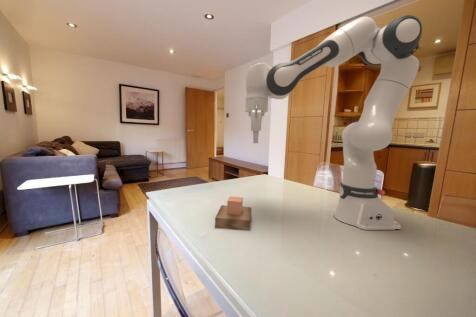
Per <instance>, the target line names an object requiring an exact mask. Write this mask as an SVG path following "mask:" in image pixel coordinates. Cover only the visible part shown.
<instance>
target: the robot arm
mask: <svg viewBox="0 0 476 317" xmlns="http://www.w3.org/2000/svg"><path fill="white" fill-rule="evenodd" d="M422 34H423V24H422V21H421V20H420V19H419V18H418V17H417V16H415V15H411V14H409V15H404V16H400V17H399V16H398V17H397V18H395V19H393V20H391V21H390V22H389V23H388V24H386V25H385V26H383V27H382V28H381V27H379V26H377V23H376V21H375V20H374V19H373V18H372V17H370V16H361V17H358V18H356V19H354V20H351V21H350V22H348V23H346V24H344V25H343V26H341V27H339V28H338V29H337V30H334V31H333V32H332V33H331V34H329V35H328V36H327V37H325V38H324V40H322V41H320V43H319V44H318V45H316V46H315V47H313V48H312V49H310V50H308V51H307V52H304V53H303V54H302V55H300V56H299V57H297V58H295V59H293V60H290V61H288V62H282V63H281V62H280V63H277V64H276V65H274V66H272V67H271V66H270V65H269V64H268V63H267V62H256V63H254V64H252V65H250V66H249V67H248V68H247V72H246V79H245V91H246V96H245V104H244V106H245V107H244V108H245V109H244V110H245V113H247V114H248V117H250V131H252V137H253V140H252V143H253V144H258V143H259V135H260V134H259V133H260V131H262V122H263V121H262V120H263V117H265V113H268V111H269V99H276V100H283V99H286V98H287V97H288V96H289V95H290V94H291V93H292V91H293V90H294V89H295V88H296V86H297V85H298V83H299V82H300V80H302V79H303V78H304V77H306V76H308V75H310V74H311V73H313V72H314V71H316V70H318V69H319V68H321V67H323V66H326V67H328V68H334V67H337V66H339V65H342V64H343V63H345V62H347V61H348V60H350V59H351V58H353V57H355V56H357V55H358V56H359V57H360V59H361V60H362V62H364V64H366V65H368V66H372V67H373V66H380V71H379V74H378V75H377V77H376V80H375V81H374V83H373V85H372V86H371V88H370V90H369V92H368V94H367V95H366V98H365V99H364V101H363V110H362V111H361V116H360V117H359V119H358V121H355V122H352V123H349V124H348V125H347V126H346V127H344V129H343V130H342V133H341V139H342V152H343V154H342V155H343V169H342V181H341V182H340V186H339V198H338V203H337V206H336V209H335V211H334V214H333V216H334V217H335V219H337V220H338V221H340V222H343V223H344V224H348V225H350V226H354V227H357V228H359V229H361V230H364V231H374V230H375V231H378V230H379V231H380V230H382V231H384V230H385V231H386V230H387V231H389V230H390V231H393V230H394V231H396V230H395V229H400V230H401V229H402V226H401V224H400V222H398V221H397V220H396V219H395V214H394V211H393V209H392V208H391V207H390V206H389V205H388V204H387V203H386V202H385V201H383V200H382V199H381V198H380V197H379V195H380V196H384V195H385V194H386V192H385V190H382V189H378V188H377V187H375V185H376V184H375V183H376V179H377V178H376V177H377V170H378V168H377V167H378V166H377V164H376V162H375V156H374V152H377V151H380V150H382V149H383V150H384V149H386V148H387V147H388V146H389V145H390V144H391V142H392V140H393V136H394V134H393V130H392V129H393V125H394V121H395V118H396V116H397V112H398V110H399V109H400V107H401V105H402V103H403V101H404V99H406V96H407V94H408V93H409V91H410V89H411V87H412V85H413V83H414V82H415V78H416V76H417V73H418V71H419V68H420V61H419V59H418V58H417V57H416V56H414V54H415V53H416V52H417V51H418V49H419V47H420V45H419V44H420V41H421V38H422V36H423V35H422Z"/></svg>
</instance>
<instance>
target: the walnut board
mask: <svg viewBox="0 0 476 317" xmlns="http://www.w3.org/2000/svg"><path fill="white" fill-rule="evenodd" d="M251 220H252V207H250V206H242V213H241V215H230V214H227V205H220V207H219V210H218V211H217V213H216V216H215V218H214V228H215V229H224V230H236V231H251V230H250V229H251Z"/></svg>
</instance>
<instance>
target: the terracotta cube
mask: <svg viewBox="0 0 476 317" xmlns="http://www.w3.org/2000/svg"><path fill="white" fill-rule="evenodd" d="M243 201H244V198H243V197H241V196H232V195H231V196H229V197H228V198H227V203H226V206H227V214H230V215H241V213H242V207H243V205H244V204H243V203H244V202H243Z"/></svg>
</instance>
